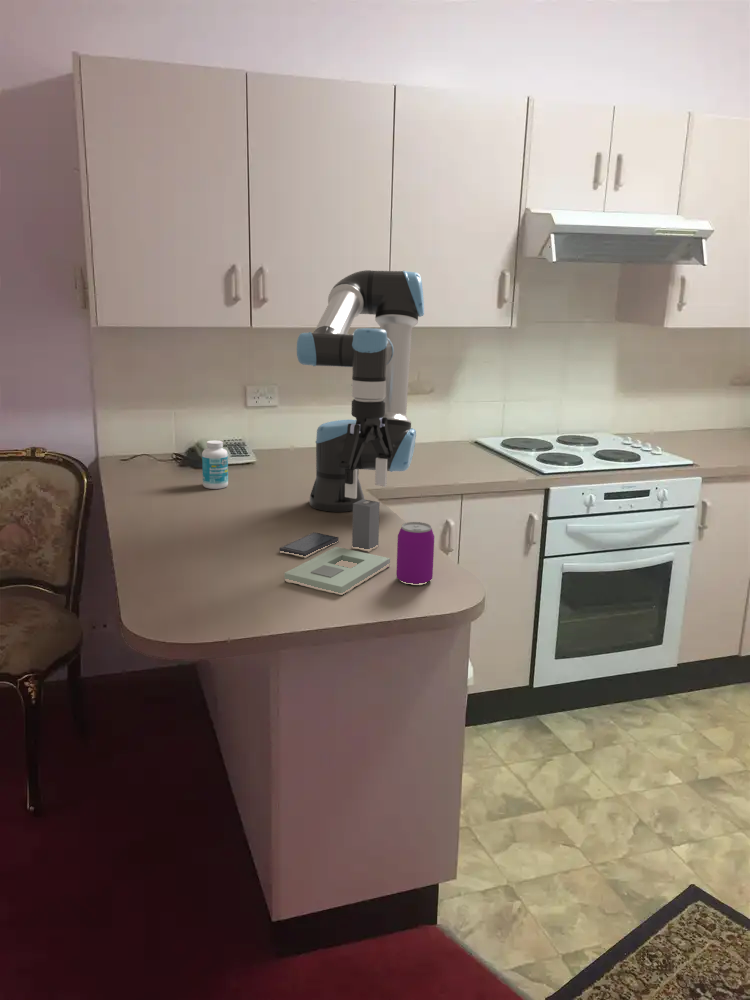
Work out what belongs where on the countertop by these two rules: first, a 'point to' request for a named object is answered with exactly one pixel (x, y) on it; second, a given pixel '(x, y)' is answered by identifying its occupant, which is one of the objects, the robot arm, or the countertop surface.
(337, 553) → the outlet plate
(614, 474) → the countertop surface
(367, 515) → the brick
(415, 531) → the beverage can
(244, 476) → the countertop surface
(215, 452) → the pill bottle
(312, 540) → the phone
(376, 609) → the countertop surface
